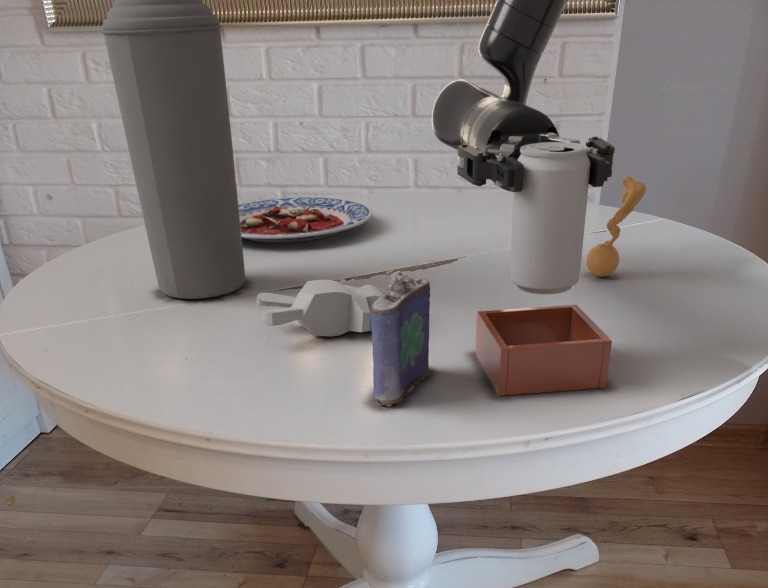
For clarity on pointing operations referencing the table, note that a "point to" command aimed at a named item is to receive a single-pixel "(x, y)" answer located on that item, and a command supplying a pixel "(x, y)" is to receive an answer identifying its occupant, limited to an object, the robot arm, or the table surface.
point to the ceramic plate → (299, 218)
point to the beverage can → (549, 217)
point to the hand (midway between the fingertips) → (560, 176)
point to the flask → (400, 337)
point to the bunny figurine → (323, 307)
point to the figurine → (615, 231)
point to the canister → (179, 141)
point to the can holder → (542, 350)
